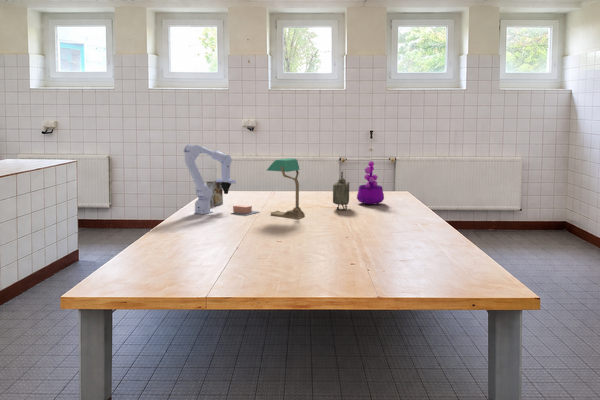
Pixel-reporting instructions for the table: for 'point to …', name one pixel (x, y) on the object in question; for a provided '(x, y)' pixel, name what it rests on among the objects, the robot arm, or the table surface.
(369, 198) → the decorative plant
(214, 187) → the coffee box
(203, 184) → the robot arm
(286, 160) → the banker's lamp
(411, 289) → the table surface
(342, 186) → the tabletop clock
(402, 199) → the table surface
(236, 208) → the block
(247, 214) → the mat
